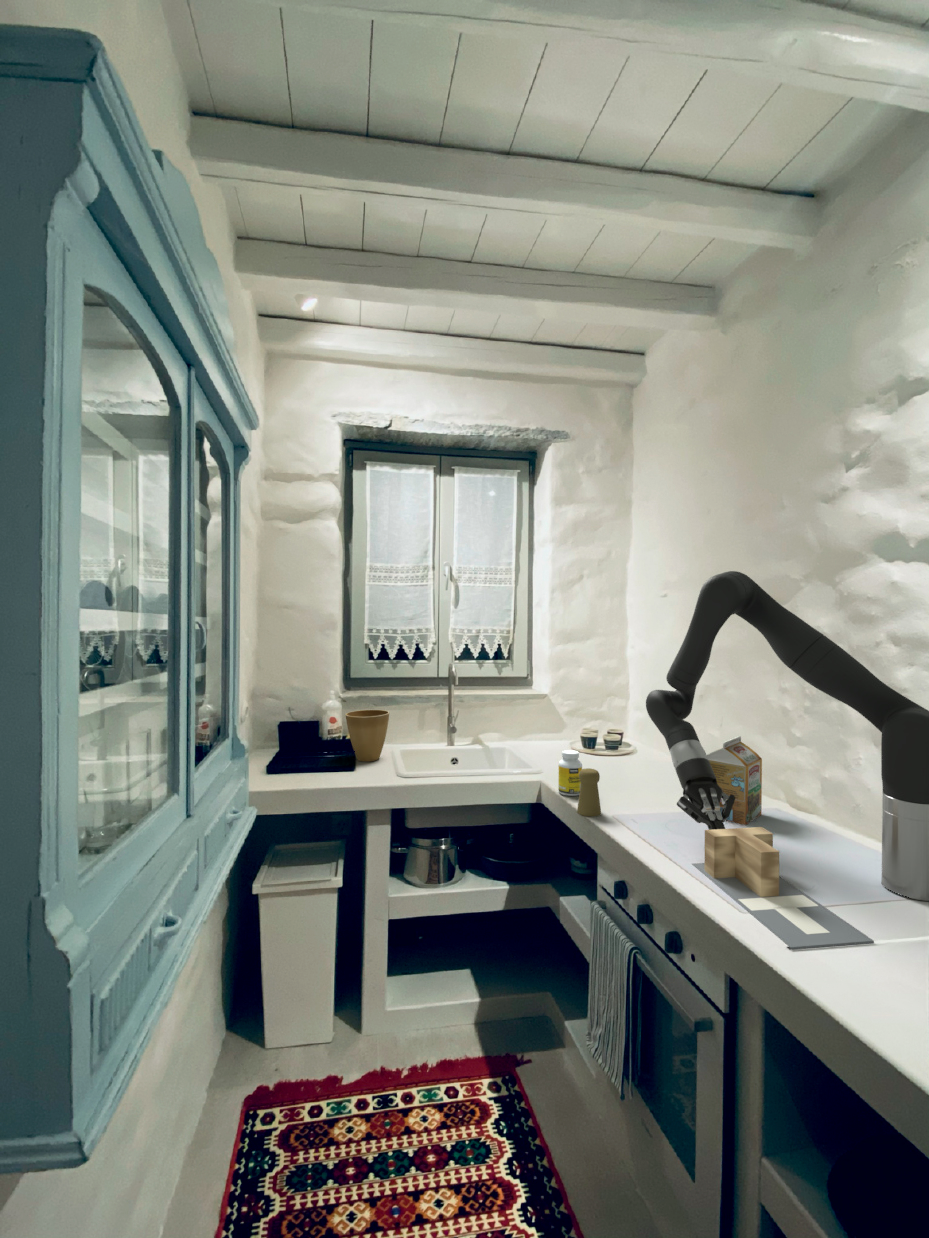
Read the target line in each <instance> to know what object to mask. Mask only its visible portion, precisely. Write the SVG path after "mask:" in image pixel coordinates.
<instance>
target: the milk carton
mask: <svg viewBox="0 0 929 1238" xmlns="http://www.w3.org/2000/svg"><path fill="white" fill-rule="evenodd" d="M706 755H707V757H708V760H709V762H710V764H711V767H712V769H713V772H714V774H715V776H716V780H717V784H718V785H719V787H721V789H722V791H723V793H725V794H727V795H729V796H730V795H731V794H732V795H734V796H735V801H734V804H733V807H732V810H731V812H730V815H729V817H728V818H727V819H726V820H725V821H727V822H730V823H735V824H739V825H741V826H746V825H748V824H750V823H751V822H753V821H754V820H755V819H757V818H758V817H760V816H761V815H762V801H763V800H762V799H763V797H762V796H763V795H762V793H763V792H762V789H763V757H761V756H760V755H759V754H758V753H757V752H756V751H755V750H753V749H752V748H751V747H750V746H748V744H747V745H746V744H745V743H744V742H743V741H742V737H741V736H739V735H738V736H736V737H733V738H731V739H728V740H726V741H723V742H722V747H721V748H719V749H717V750H714V751H712V752H709V753H708V754H706ZM719 804H720V811H721V812H722V809H723V806H724V805H723V804H722V799H721V800H720V803H719Z"/></svg>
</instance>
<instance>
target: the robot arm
mask: <svg viewBox="0 0 929 1238" xmlns="http://www.w3.org/2000/svg"><path fill="white" fill-rule="evenodd" d="M732 615H733V616H734V615H736V616H737V617H740V618H741V619H743V620H744V621H746V622H747V623H748V624H750V625H751V626H752V627H754V628H755V629H757V631H758V632H759V633H760V634H761V635H762V636H763V637H764V639H765V640H766V642H768V644H769V646H770V647H771V649H772V651H773V652H774V653H775V655H776V657H778V659H779V660H780V661H781V662H782V663H783V664H784V665H785V667H787V668H788V669H790V670H791V671H792V672H793V673H795V674H796V675H797V676H798V677H800V678H801V679H802V680H803V681H805V682H806V683H808V684H809V685H811V686H813V687H814V688H816V689H817V690H819V691H821V692H823V693H824V694H826V695H828V696H829V697H831V698H834V699H835V700H837V701H839V702H842V703H843V704H845V705H847V706H848V707H850V708H851V709H853V710H855V711H856V712H857V713H858V714H860V715H861V716H862V717H863V718H864V719H866V720H867V721H868V722H870V723H871V724H872V725H873V726H874V727H875V728H876V729H877V730H878V731H879V732H880V733H881V743H880V745H881V749H880V751H881V752H880V753H881V754H880V755H881V760H880V761H881V765H880V767H881V768H880V769H881V771H880V772H881V783H882V794H881V795H882V796H881V797H882V799H881V801H882V804H881V805H882V806H881V808H882V809H881V811H882V815H881V820H882V822H881V885H882V886H883V885H884V886H885V887H886V888H885V887H884V886H883V887H884V888H885V889H887V890H888V889H889V890H888V891H890V890H892V891H893V892H892V891H891V892H892V893H894V892H895V893H894V894H896V893H899V894H901V895H900V896H902V895H904V896H903V897H905V896H907V897H906V898H908V897H909V898H908V899H912V900H917V901H918V900H919V901H923V902H924V901H925V902H927V901H928V902H929V710H928V709H926V707H923V706H922V705H919V704H918V703H916V702H914V701H913V700H911V699H910V698H908V697H906V696H905V695H902V694H901V693H900V692H898V691H896V690H895V689H893V688H891V687H890V686H889V685H887V684H886V683H885V682H883V681H882V680H881V679H879V678H878V677H877V676H876V675H874V673H872V672H871V671H870V670H869V669H868V668H867V667H865V666H864V664H862V663H861V662H859V661H858V660H857V659H856V658H855V657H853V655H851V654H850V653H849V652H848V651H846V650H844V648H843V647H841V646H839V644H837V643H835V642H834V641H833V640H831V639H830V638H829V637H827V636H826V635H824V634H823V633H822V632H820V631H819V630H817V629H816V628H814V627H813V626H812V625H810V624H809V623H808V622H806V621H805V620H803V619H801V618H800V617H799V616H797V615H796V614H795V613H793V612H792V611H790V610H789V609H787V608H786V607H784V606H783V605H781V604H780V603H779V602H778V601H777V600H775V599H774V598H773V597H772V596H771V595H770V594H769V593H767V591H765V590H764V589H763V588H762V587H761V586H760V585H759V584H758V583H756V581H755V580H753V579H752V578H751V577H750V576H749V575H747V574H745V573H743V572H741V571H736V570H730V571H725V572H722V573H718V574H715V575H712V576H710V577H709V578H708V579H707V580H705V581H704V583H703V584H702V586H701V589H700V590H699V595H698V597H697V600H696V605H695V607H694V612H693V615H692V617H691V620H690V624H689V626H688V629H687V632H686V634H685V636H684V639H683V641H682V644H681V645H680V648H679V650H678V652H677V653H676V655H675V658H674V660H673V661H672V664H671V665H670V667H669V670H668V672H667V674H666V682H667V684H668V685H669V686H670V687H671V688H673V689H675V690H666V689H665V690H663V689H655V690H652V691H650V692H649V693H648V695H647V696H646V700H645V709H646V712H647V715H648V717H649V718H650V720H651V721H652V723H653V724H654V725H655V727H656V728H657V730H658V731H659V732H660V734H661V735H662V736H663V738H664V739H665V743H666V746H667V748H668V750H669V754H670V756H671V757H670V759H671V761H672V765H673V767H674V770H675V774H676V776H677V779H678V781H679V783H680V785H681V788H682V795H683V796H681V797H680V798H679V799H678V801H677V802H676V806H677V807H678V808H679V809H681V810H682V811H683V812H684V813H685V814H687V815H688V816H689V817H691V819H692V820H694V821H695V822H696V823H698V824H705V825H706V826H707V828H708V829H707V830H713V829H726V827H725V824H724V822H725V821H726V819H727V818H728V817H729V815H730V812H731V810H732V807H733V804H734V801H735V796H734V795H732V794H731V795H730V796H729V795H727V794H725V793H723V791H722V789H721V787H719V785H718V784H717V780H716V776H715V774H714V772H713V769H712V767H711V764H710V762H709V760H708V757H707V755H708V754H707V753H706V750H705V748H704V747H703V746H702V744H701V741H700V740H699V737H698V734H697V731H696V730H695V727H694V726H693V724H692V723H691V722H689V721H687V720H685V719H686V718H688V716H690V714H691V712H692V710H693V705H694V699H695V695H696V694H695V693H696V689H697V686H698V684H699V682H700V680H701V678H702V676H703V674H704V673H705V670H706V669H707V666H708V664H709V661H710V659H711V654H712V651H713V650H712V648H713V647H714V646H713V645H714V641H715V640H716V637H717V635H718V634H719V631H720V630H721V628H722V627H723V626H724V625H725V623H726V622H727V621H728V619H729V618H730V617H732ZM721 799H722V804H723V805H724V806H723V809H722V812H721V811H720V804H719V803H720V800H721ZM899 894H898V895H899Z"/></svg>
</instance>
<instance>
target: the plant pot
mask: <svg viewBox="0 0 929 1238" xmlns="http://www.w3.org/2000/svg"><path fill="white" fill-rule="evenodd" d="M389 718H390V711H388V710H385V709H384V710H382V709H360V710H354V711H353V710H352V711H349V712H347V713H345V721H346V726H347V732H348V735H349V739H350V742H351V746H352V749H353V752H354V751H355V752H354V755H355V757H356V759H357V761H360V762H367V763H368V762H374V761H378V760H379V759H380V757H381V754H382V752H383V748H384V744H385V741H386V738H387V732H388V728H389V727H388V725H389V722H390V721H389V720H390V719H389Z"/></svg>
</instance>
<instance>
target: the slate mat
mask: <svg viewBox="0 0 929 1238" xmlns="http://www.w3.org/2000/svg"><path fill="white" fill-rule="evenodd" d="M691 865H692V866H693V867H694V868H695V869H696V870H698V871H699V872H700V873H702V875H704V876H705V877H706V878H707V879H709V880H710V881H711V882H712V883H714V885H716V887H718V888H719V889H720V890H721V891H723V892H724V893H725V894H726V895H727V896H729V898H731V899H732V900H733V901H735V902H736V903H737V904H738V905H739V906H740V907H742V908H743V909H744V910H746V912H748V914H750V915H751V916H753V918H755V919H756V920H757V921H758V922H759V923H761V924H762V925H763V927H765V928H767V929H768V930H769V931H770V932H771V933H772V934H774V935H775V937H777V938H778V939H779V940H780V941H782V942H783V944H786V945H787V946H786V948H787V949H789V950H790V951H792V950H793V951H794V950H805V949H807V950H808V949H819V948H831V947H840V946H854V945H857V946H858V945H868V944H869V945H870V944H874V943H875V940H873V939H872V938H871V937H869V936H868V935H866V934H864V933H863V932H862V931H861V930H859V929H857V928H856V927H855V926H853V925H852V924H850V923H849V922H847V921H846V920H844V919H843V918H841V917H840V916H839V915H837V914H836V913H834V912H833V911H831V910H830V909H829V908H827V907H826V906H824V905H823V904H821V903H820V902H818V901H817V900H815V899H814V898H812V897H811V896H809V895H808V894H807V893H805V892H803V890H801V889H800V888H798V887H796V886H795V885H793V884H792V883H791V882H789V881H788V880H786V879H785V878H783V877H782V876H780V875H779V896H769V897H760V896H759V895H757V894H756V893H755V892H754V891H752V890H751V889H750V888H748V887H747V886H746V885H745V884H743V883H742V882H741V881H739V880H738V879H737V878H736V877H728V878H713V877H712V876H711V875H709V874H708V873H707V872H706V871H705V862H700V863H699V862H697V863H691Z"/></svg>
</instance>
